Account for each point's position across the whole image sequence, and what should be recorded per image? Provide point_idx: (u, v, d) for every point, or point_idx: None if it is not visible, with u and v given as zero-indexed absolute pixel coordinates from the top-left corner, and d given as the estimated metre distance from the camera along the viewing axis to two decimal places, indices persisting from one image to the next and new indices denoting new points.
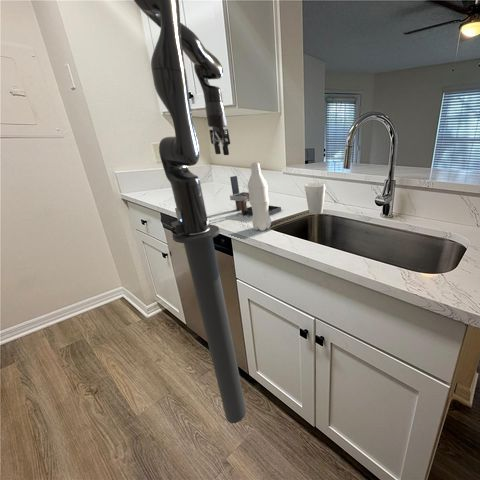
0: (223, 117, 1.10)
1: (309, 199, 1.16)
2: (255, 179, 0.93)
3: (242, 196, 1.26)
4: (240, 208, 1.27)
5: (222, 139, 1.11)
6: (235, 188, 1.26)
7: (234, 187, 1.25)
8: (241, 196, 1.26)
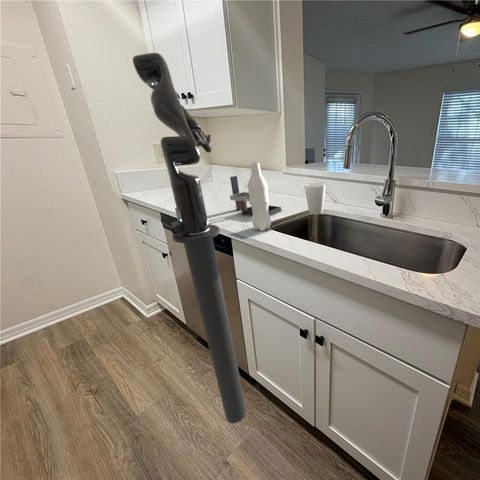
0: None
1: (309, 199, 1.16)
2: (255, 179, 0.93)
3: (242, 196, 1.26)
4: (240, 208, 1.27)
5: None
6: (235, 188, 1.26)
7: (234, 187, 1.25)
8: (241, 196, 1.26)
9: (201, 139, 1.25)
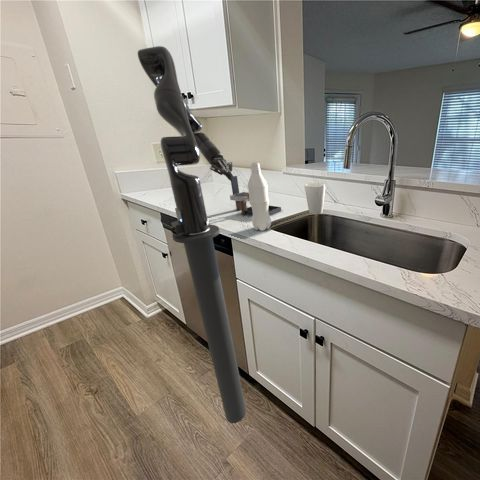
0: (207, 152, 1.22)
1: (309, 199, 1.16)
2: (255, 179, 0.93)
3: (242, 196, 1.26)
4: (240, 208, 1.27)
5: (221, 170, 1.25)
6: (235, 188, 1.26)
7: (234, 187, 1.25)
8: (241, 196, 1.26)
9: (224, 167, 1.24)
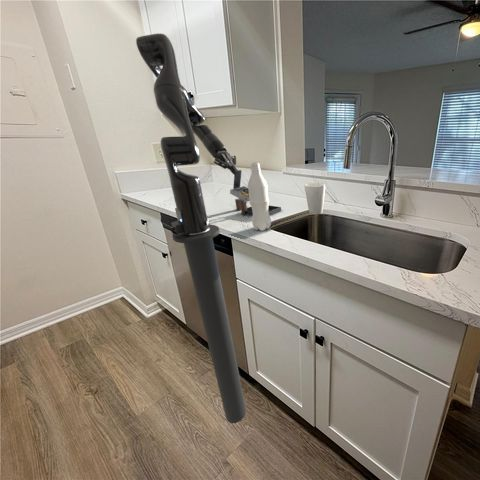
0: (211, 145, 1.19)
1: (309, 199, 1.16)
2: (255, 179, 0.93)
3: (242, 192, 1.25)
4: (240, 208, 1.27)
5: (225, 164, 1.22)
6: (237, 182, 1.24)
7: (236, 181, 1.23)
8: (241, 192, 1.25)
9: (228, 161, 1.21)
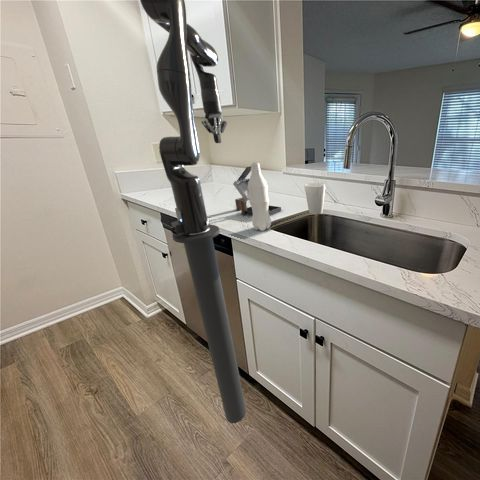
0: (208, 103, 1.11)
1: (309, 199, 1.16)
2: (255, 179, 0.93)
3: None
4: (240, 208, 1.27)
5: None
6: (244, 176, 1.21)
7: (243, 175, 1.20)
8: None
9: (216, 128, 1.17)
